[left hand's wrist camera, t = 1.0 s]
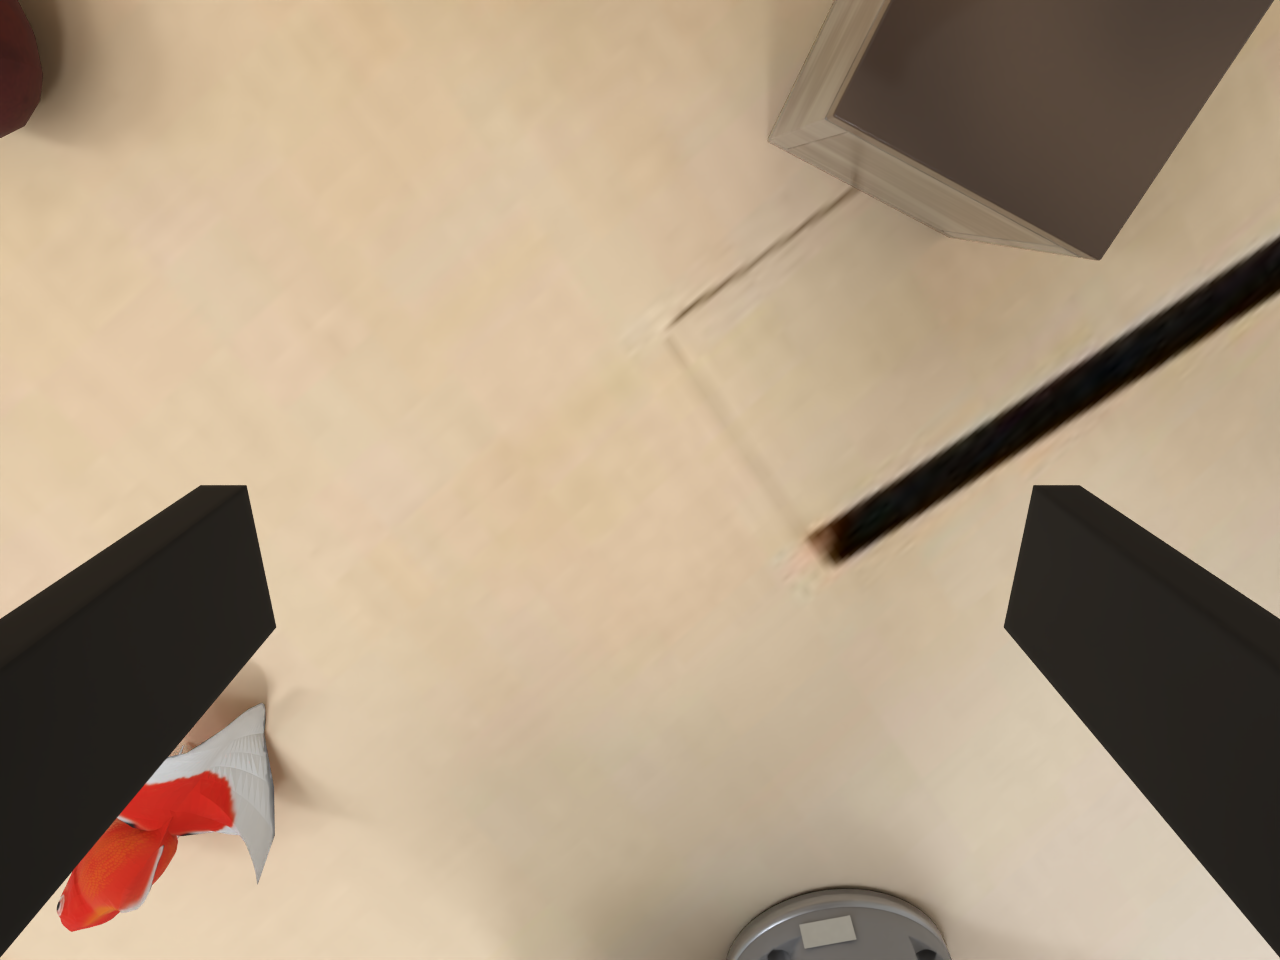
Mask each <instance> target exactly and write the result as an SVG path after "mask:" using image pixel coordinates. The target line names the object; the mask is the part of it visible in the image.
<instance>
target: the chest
mask: <svg viewBox="0 0 1280 960" xmlns="http://www.w3.org/2000/svg"><path fill="white" fill-rule="evenodd" d="M884 1H885V0H834V3H833V5H832V7H831V9H830V11H829V13H828V15H827V17H826V19H825V21H824V23H823V25H822V27H821V30H820V32H819V34H818V36H817V38H816V40H815V42H814V44H813V46H812V48H811V50H810V52H809V55H808V57H807V59H806V61H805V63H804V65H803V67H802V69H801V71H800V73H799V75H798V77H797V79H796V82H795V84H794V86H793V88H792V90H791V92H790V94H789V96H788V98H787V100H786V102H785V104H784V106H783V109H782V111H781V113H780V115H779V117H778V119H777V121H776V123H775V125H774V127H773V129H772V131H771V133H770V136H769V138H768V142H769V143H771V144H773V145H775V146H777V147H779V148H781V149H783V150H785V151H786V152H788V153H790V154H792V155H794V156H796V157H798V158H800V159H802V160H804V161H805V162H807V163H809V164H811V165H813V166H815V167H817V168H819V169H821V170H822V171H824V172H826V173H828V174H830V175H832V176H834V177H836V178H838V179H840V180H841V181H843V182H845V183H847V184H849V185H851V186H853V187H855V188H857V189H858V190H860V191H862V192H864V193H866V194H868V195H870V196H872V197H874V198H876V199H877V200H879V201H881V202H883V203H885V204H887V205H889V206H891V207H893V208H895V209H896V210H898V211H900V212H902V213H904V214H906V215H908V216H910V217H912V218H913V219H915V220H917V221H919V222H921V223H923V224H925V225H927V226H929V227H931V228H932V229H934V230H936V231H938V232H940V233H942V234H944V235H946V236H948V237H950V238H957V239H963V240H969V241H976V242H982V243H989V244H995V245H1002V246H1008V247H1015V248H1021V249H1028V250H1034V251H1041V252H1047V253H1054V254H1060V255H1067V256H1073V257H1080V256H1078V255H1077V254H1075V253H1073V252H1071V251H1069V250H1067V249H1065V248H1064V247H1062V246H1060V245H1058V244H1056V243H1054V242H1052V241H1051V240H1049V239H1047V238H1045V237H1043V236H1041V235H1040V234H1038V233H1036V232H1034V231H1032V230H1030V229H1028V228H1027V227H1025V226H1023V225H1021V224H1019V223H1017V222H1015V221H1014V220H1012V219H1010V218H1008V217H1006V216H1004V215H1003V214H1001V213H999V212H997V211H995V210H993V209H991V208H990V207H988V206H986V205H984V204H982V203H980V202H978V201H977V200H975V199H973V198H971V197H969V196H967V195H966V194H964V193H962V192H960V191H958V190H956V189H954V188H953V187H951V186H949V185H947V184H945V183H943V182H941V181H940V180H938V179H936V178H934V177H932V176H930V175H929V174H927V173H925V172H923V171H921V170H919V169H917V168H916V167H914V166H912V165H910V164H908V163H906V162H904V161H903V160H901V159H899V158H897V157H895V156H893V155H892V154H890V153H888V152H886V151H884V150H882V149H880V148H879V147H877V146H875V145H873V144H871V143H869V142H867V141H866V140H864V139H862V138H860V137H858V136H856V135H855V134H853V133H851V132H849V131H847V130H845V129H843V128H842V127H840V126H838V125H836V124H834V123H832V122H830V121H829V120H827V114H828V112H829V110H830V108H831V106H832V104H833V103H834V101H835V99H836V97H837V95H838V93H839V91H840V89H841V87H842V85H843V83H844V81H845V79H846V77H847V75H848V73H849V71H850V69H851V67H852V65H853V63H854V61H855V59H856V57H857V55H858V53H859V51H860V49H861V47H862V45H863V43H864V41H865V39H866V37H867V35H868V33H869V31H870V29H871V27H872V25H873V23H874V21H875V19H876V17H877V15H878V13H879V11H880V9H881V7H882V5H883V3H884Z"/></svg>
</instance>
